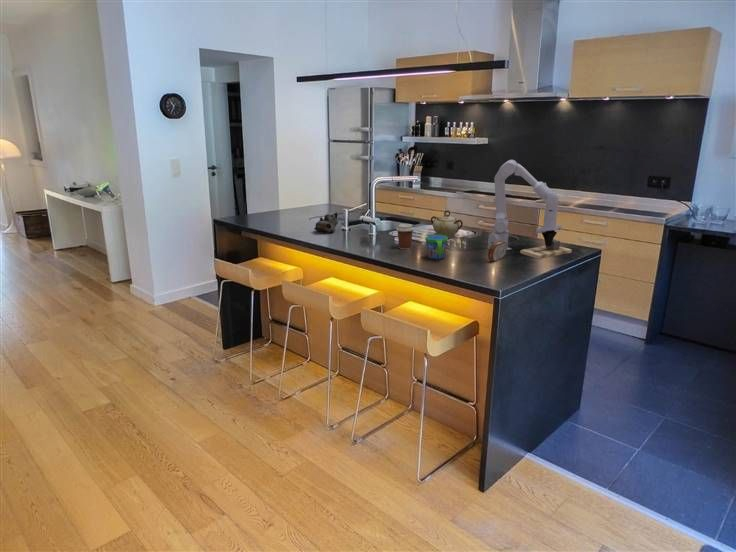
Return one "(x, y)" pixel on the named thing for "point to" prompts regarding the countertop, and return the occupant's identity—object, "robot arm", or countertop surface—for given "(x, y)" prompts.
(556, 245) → the fader knob
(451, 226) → the sugar bowl
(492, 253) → the tin
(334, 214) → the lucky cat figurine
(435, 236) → the snack cup
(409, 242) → the coffee cup
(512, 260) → the countertop surface
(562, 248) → the fader board
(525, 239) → the countertop surface
